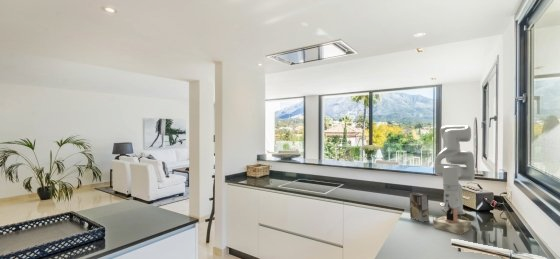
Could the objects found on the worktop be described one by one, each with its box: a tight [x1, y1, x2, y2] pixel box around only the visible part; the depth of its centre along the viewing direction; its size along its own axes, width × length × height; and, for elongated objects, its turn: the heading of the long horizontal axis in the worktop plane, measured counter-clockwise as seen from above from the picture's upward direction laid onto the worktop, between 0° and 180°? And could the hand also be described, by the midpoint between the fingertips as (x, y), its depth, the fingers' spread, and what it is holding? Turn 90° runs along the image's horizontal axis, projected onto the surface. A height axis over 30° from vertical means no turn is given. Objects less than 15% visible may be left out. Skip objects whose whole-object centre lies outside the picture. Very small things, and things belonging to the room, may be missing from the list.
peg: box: [445, 206, 458, 223], centre depth 147 cm, size 4×4×11 cm
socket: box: [432, 215, 472, 235], centre depth 147 cm, size 14×14×4 cm
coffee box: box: [409, 192, 430, 223], centre depth 162 cm, size 9×6×16 cm
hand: (451, 218), depth 147 cm, fingers closed on peg, 3 cm apart
